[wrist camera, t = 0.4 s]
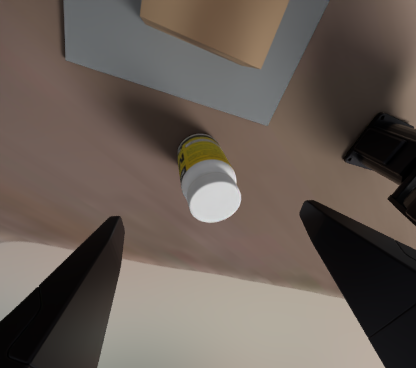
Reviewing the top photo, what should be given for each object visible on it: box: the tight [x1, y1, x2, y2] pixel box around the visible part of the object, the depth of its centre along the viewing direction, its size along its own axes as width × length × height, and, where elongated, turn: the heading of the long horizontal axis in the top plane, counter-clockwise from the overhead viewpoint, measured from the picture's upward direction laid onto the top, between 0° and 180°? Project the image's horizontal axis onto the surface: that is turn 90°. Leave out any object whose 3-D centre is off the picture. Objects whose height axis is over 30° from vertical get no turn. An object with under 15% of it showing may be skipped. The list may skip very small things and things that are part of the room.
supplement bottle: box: [177, 134, 241, 222], centre depth 17 cm, size 5×5×8 cm
